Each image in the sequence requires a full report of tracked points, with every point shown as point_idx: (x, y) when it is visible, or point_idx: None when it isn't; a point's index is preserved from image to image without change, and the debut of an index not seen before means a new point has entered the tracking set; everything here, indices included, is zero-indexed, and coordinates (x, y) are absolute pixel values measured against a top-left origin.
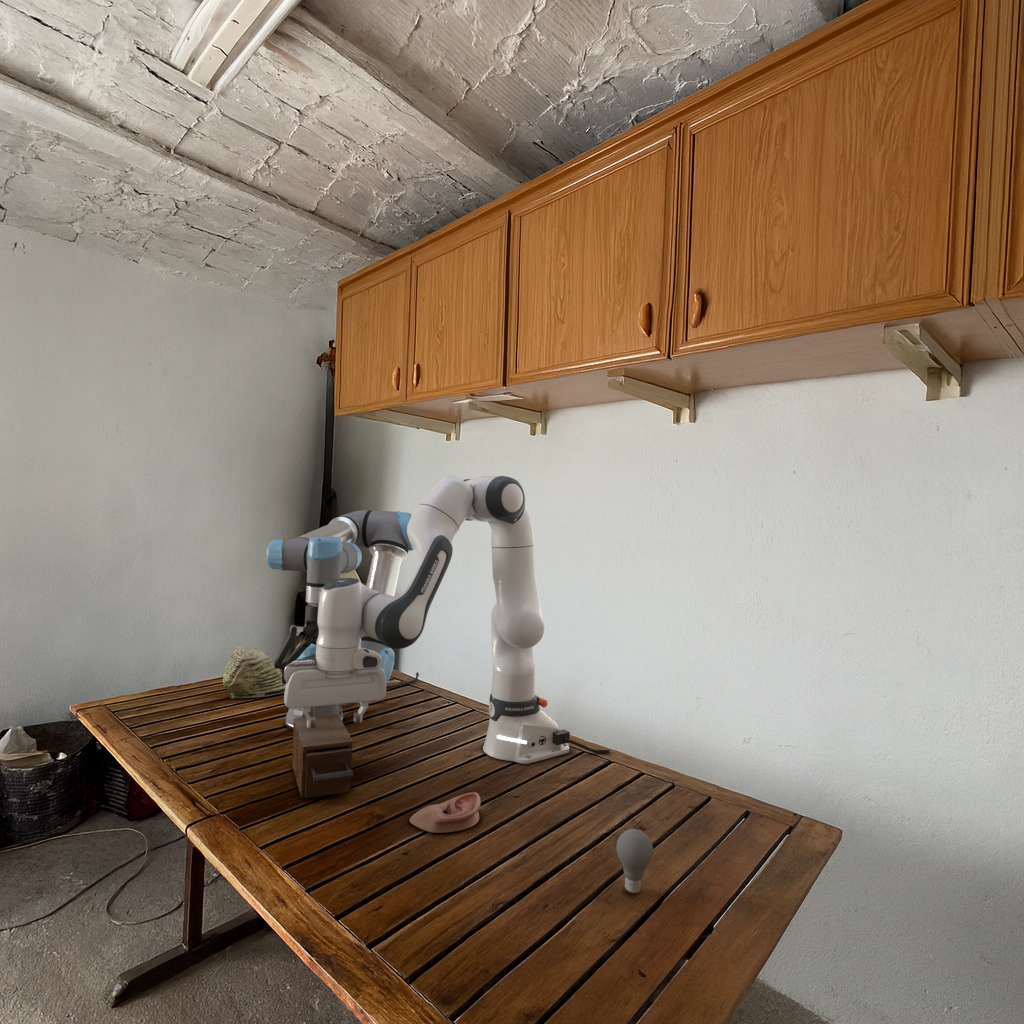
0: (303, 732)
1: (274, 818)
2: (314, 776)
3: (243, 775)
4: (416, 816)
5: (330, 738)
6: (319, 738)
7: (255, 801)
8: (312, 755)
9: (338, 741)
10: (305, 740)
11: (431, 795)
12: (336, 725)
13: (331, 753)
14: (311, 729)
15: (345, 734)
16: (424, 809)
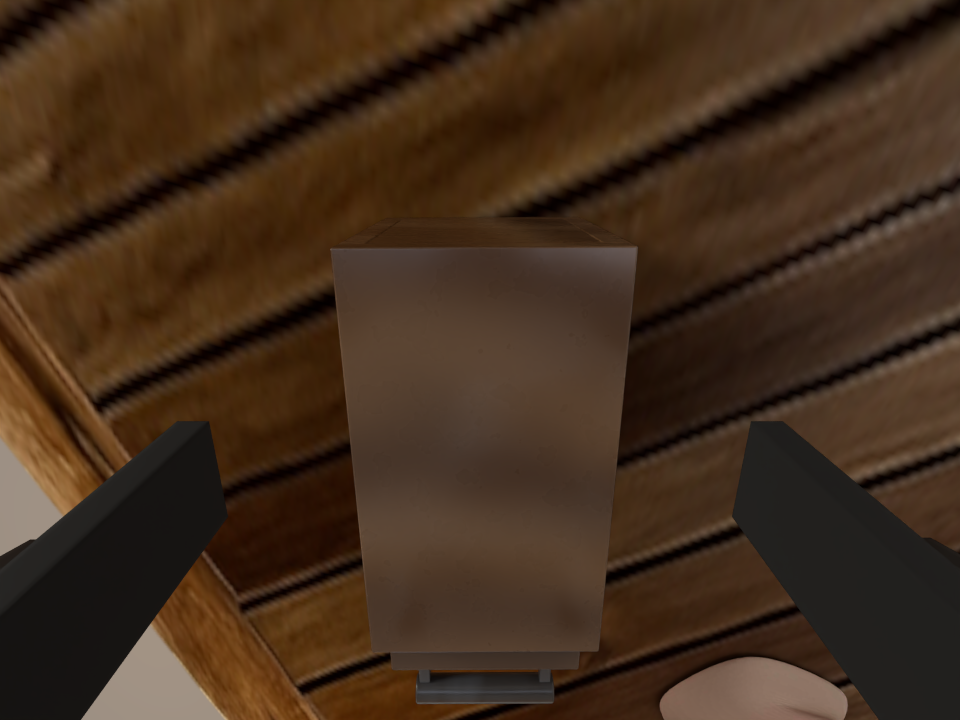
0: (382, 496)
1: (326, 584)
2: (418, 703)
3: (194, 264)
4: (680, 716)
5: (506, 600)
6: (455, 588)
7: (264, 479)
8: (413, 667)
9: (535, 640)
10: (386, 593)
11: (783, 595)
12: (575, 448)
13: (492, 666)
14: (428, 470)
15: (588, 577)
16: (714, 703)
